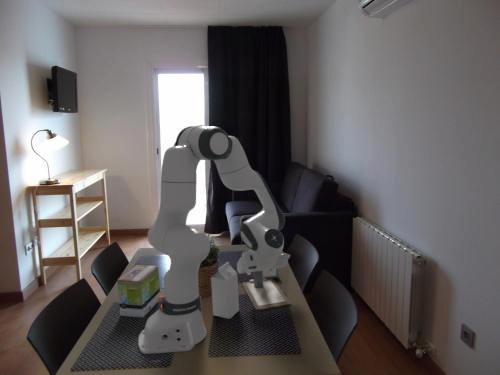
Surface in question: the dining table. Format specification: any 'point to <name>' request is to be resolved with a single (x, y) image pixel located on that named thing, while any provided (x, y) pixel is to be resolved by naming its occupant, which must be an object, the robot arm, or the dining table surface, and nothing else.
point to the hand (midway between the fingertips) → (259, 271)
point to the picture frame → (270, 274)
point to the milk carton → (225, 292)
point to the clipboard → (266, 295)
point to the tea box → (138, 290)
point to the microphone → (258, 279)
